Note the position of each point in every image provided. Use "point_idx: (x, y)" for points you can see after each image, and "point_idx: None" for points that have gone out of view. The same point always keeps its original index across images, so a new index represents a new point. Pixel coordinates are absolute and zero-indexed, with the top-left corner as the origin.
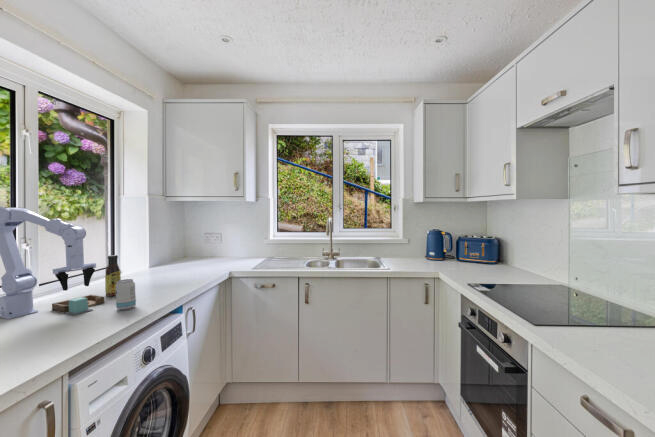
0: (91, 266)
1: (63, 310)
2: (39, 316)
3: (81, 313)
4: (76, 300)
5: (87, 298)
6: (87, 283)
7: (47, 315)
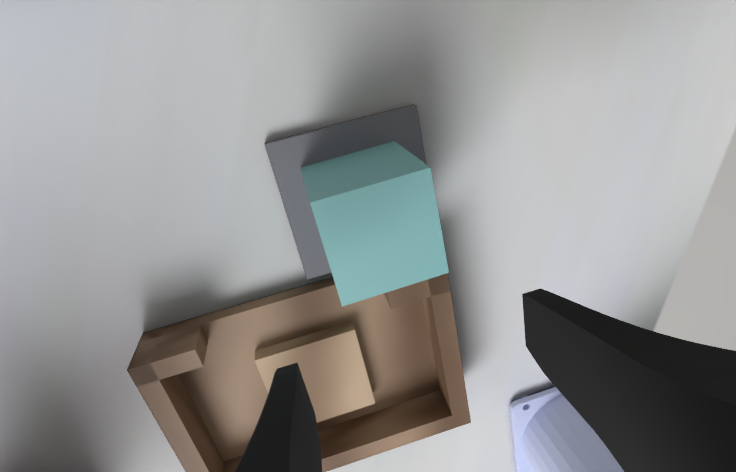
0: None
1: None
2: None
3: (356, 120)
4: (412, 186)
5: None
6: (296, 381)
7: (507, 282)
